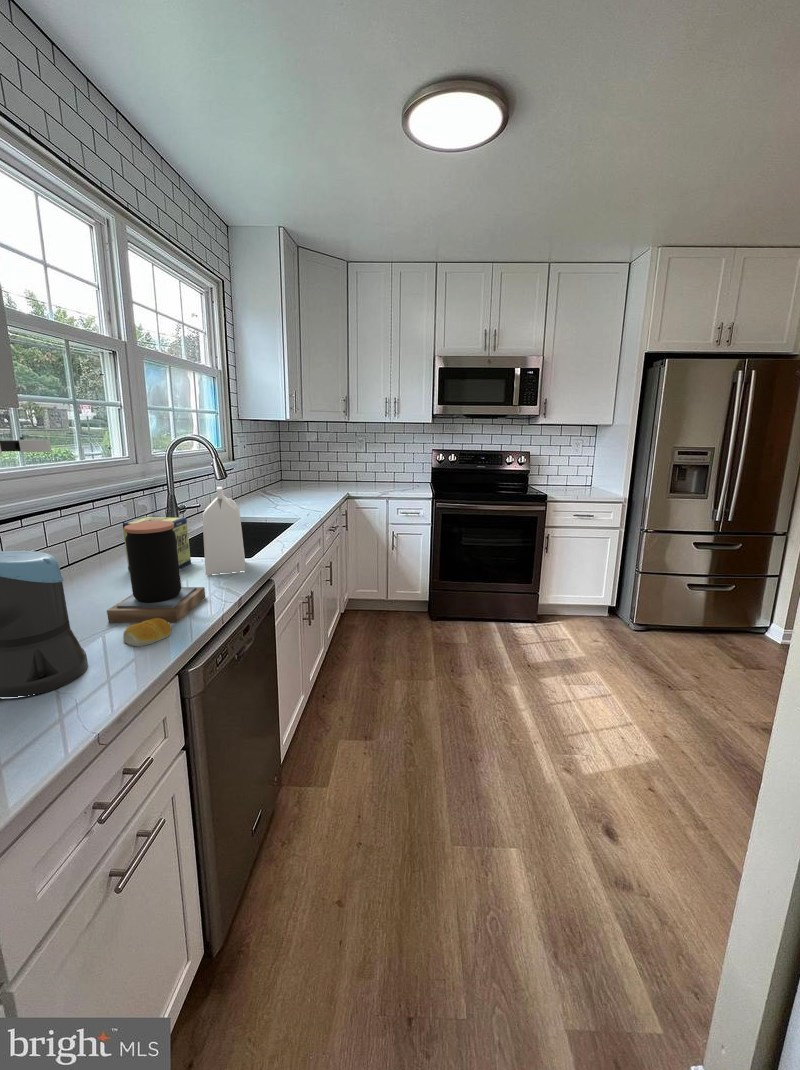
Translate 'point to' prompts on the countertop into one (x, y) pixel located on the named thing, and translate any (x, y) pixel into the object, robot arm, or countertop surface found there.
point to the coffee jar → (153, 561)
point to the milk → (223, 536)
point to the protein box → (180, 533)
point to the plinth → (157, 607)
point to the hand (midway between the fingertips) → (26, 447)
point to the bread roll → (147, 632)
